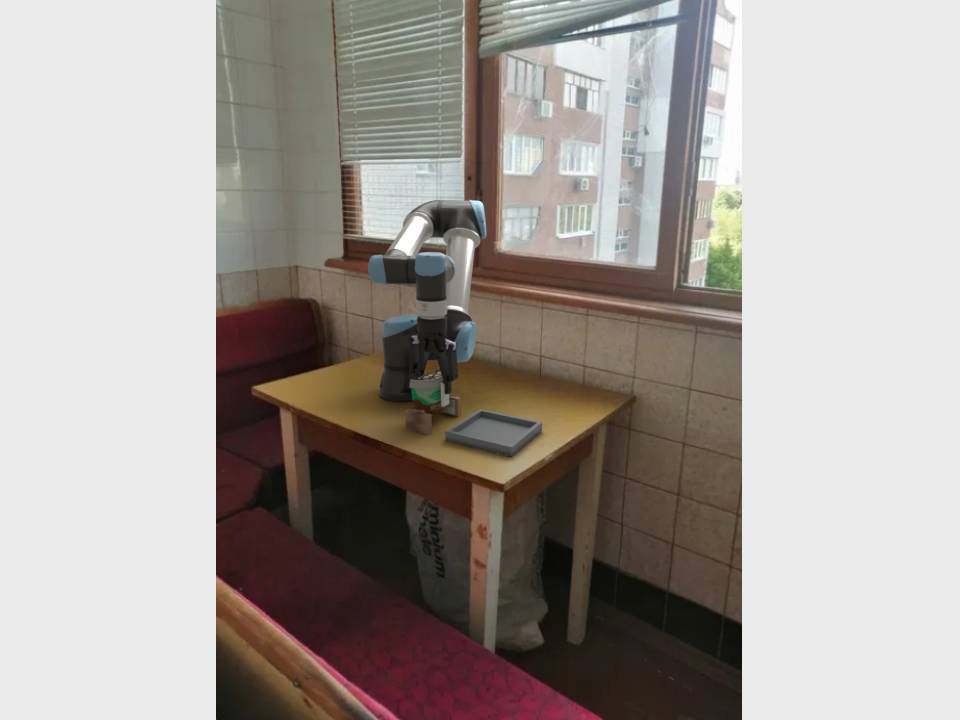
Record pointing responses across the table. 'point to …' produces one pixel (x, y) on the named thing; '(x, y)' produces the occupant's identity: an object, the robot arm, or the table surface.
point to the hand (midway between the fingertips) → (434, 402)
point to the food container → (427, 393)
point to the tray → (494, 432)
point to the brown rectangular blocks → (430, 416)
